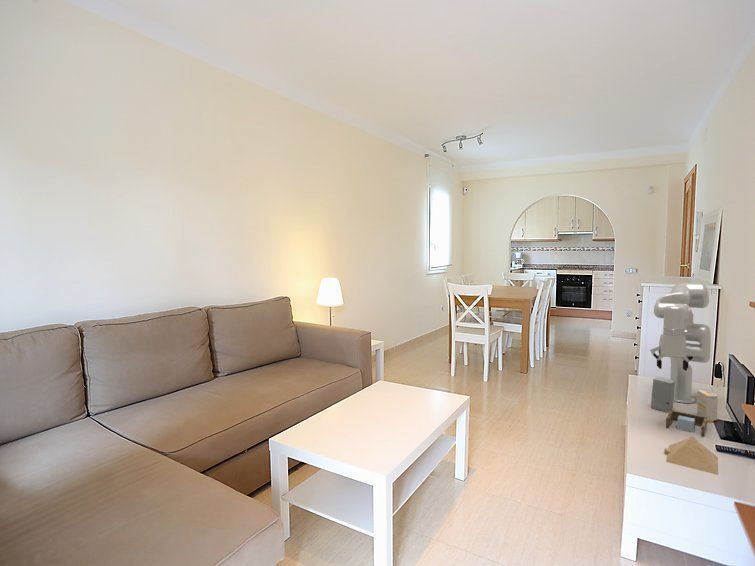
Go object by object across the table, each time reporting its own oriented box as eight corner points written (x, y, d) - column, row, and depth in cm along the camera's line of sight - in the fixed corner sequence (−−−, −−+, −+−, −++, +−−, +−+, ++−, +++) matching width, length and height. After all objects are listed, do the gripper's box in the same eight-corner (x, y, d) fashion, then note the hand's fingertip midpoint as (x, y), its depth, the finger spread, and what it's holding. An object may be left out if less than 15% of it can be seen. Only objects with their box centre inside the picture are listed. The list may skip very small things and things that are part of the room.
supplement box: (717, 422, 193) (718, 396, 192) (706, 422, 194) (707, 395, 193) (707, 415, 201) (708, 389, 200) (696, 415, 202) (697, 389, 201)
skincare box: (650, 408, 212) (651, 378, 210) (655, 404, 216) (656, 375, 215) (669, 413, 205) (670, 382, 204) (674, 409, 209) (675, 379, 208)
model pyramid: (666, 445, 174) (666, 423, 173) (718, 457, 163) (719, 434, 162) (662, 462, 161) (663, 438, 161) (719, 476, 150) (720, 451, 150)
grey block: (678, 425, 192) (679, 415, 191) (694, 429, 188) (695, 418, 187) (677, 428, 188) (677, 418, 188) (693, 432, 184) (693, 421, 184)
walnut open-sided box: (670, 418, 199) (670, 410, 198) (707, 426, 189) (707, 417, 189) (665, 428, 189) (666, 418, 189) (704, 437, 180) (704, 427, 179)
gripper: (693, 331, 186) (691, 368, 187) (649, 330, 192) (648, 365, 193) (699, 335, 179) (697, 372, 180) (653, 333, 185) (652, 369, 186)
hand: (672, 368), depth 187 cm, fingers open, 9 cm apart
